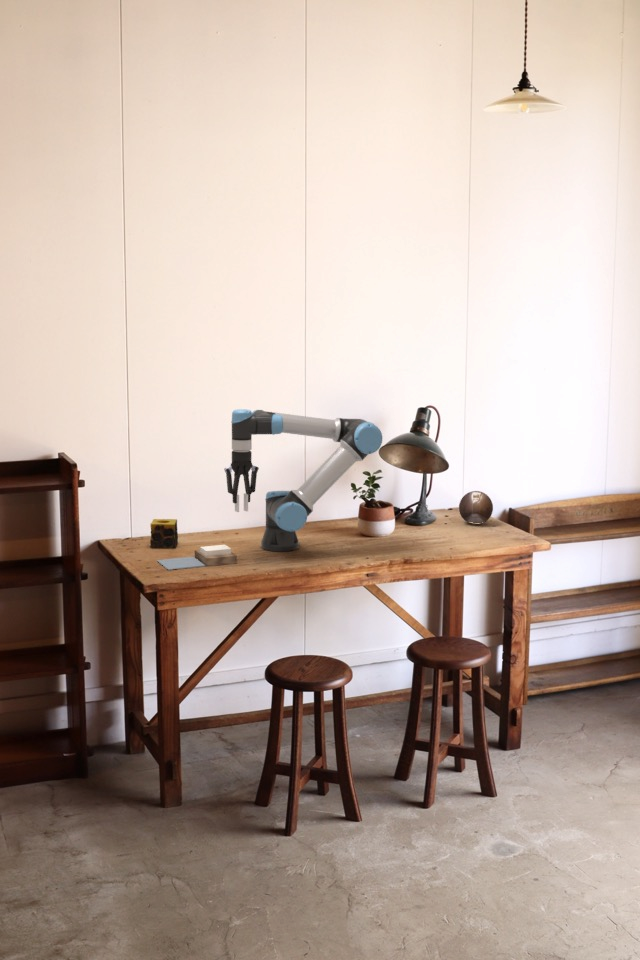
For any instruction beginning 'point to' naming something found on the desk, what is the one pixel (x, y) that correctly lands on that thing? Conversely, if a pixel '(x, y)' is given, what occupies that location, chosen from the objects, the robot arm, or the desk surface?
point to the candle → (164, 533)
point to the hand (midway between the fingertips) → (241, 510)
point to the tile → (215, 550)
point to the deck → (216, 559)
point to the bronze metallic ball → (475, 507)
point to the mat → (181, 563)
